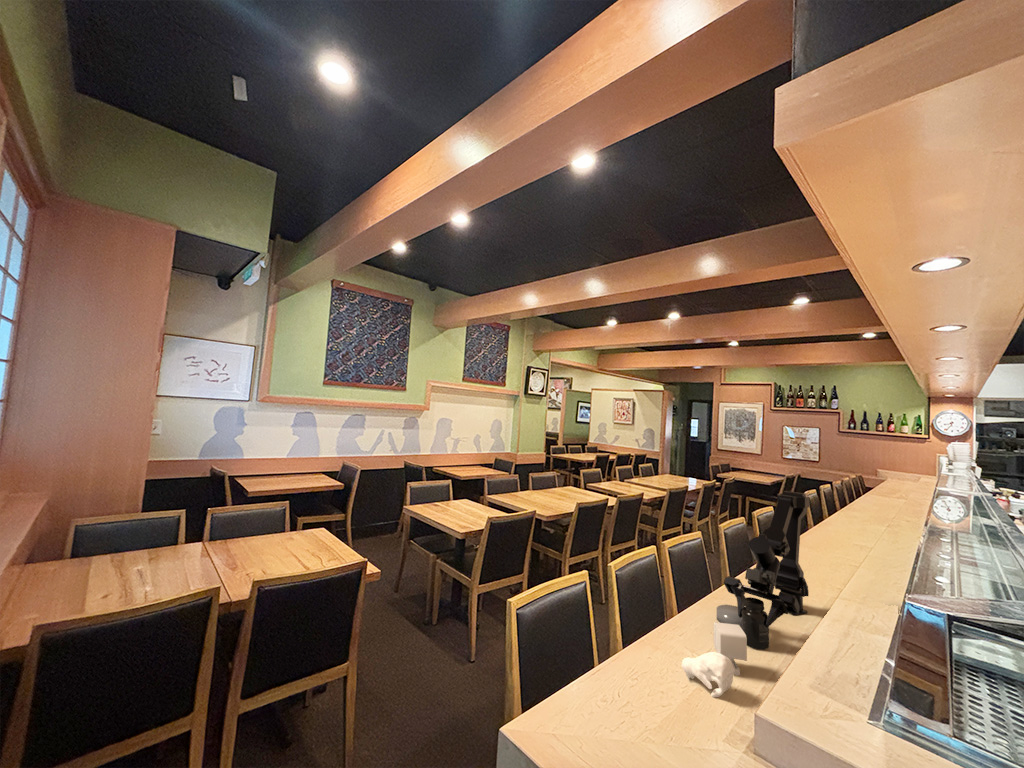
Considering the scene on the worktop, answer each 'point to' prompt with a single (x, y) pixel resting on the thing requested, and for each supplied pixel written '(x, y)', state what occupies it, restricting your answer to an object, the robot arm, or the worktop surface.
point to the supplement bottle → (755, 624)
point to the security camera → (730, 642)
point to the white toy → (710, 671)
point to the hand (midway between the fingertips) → (752, 621)
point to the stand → (728, 614)
